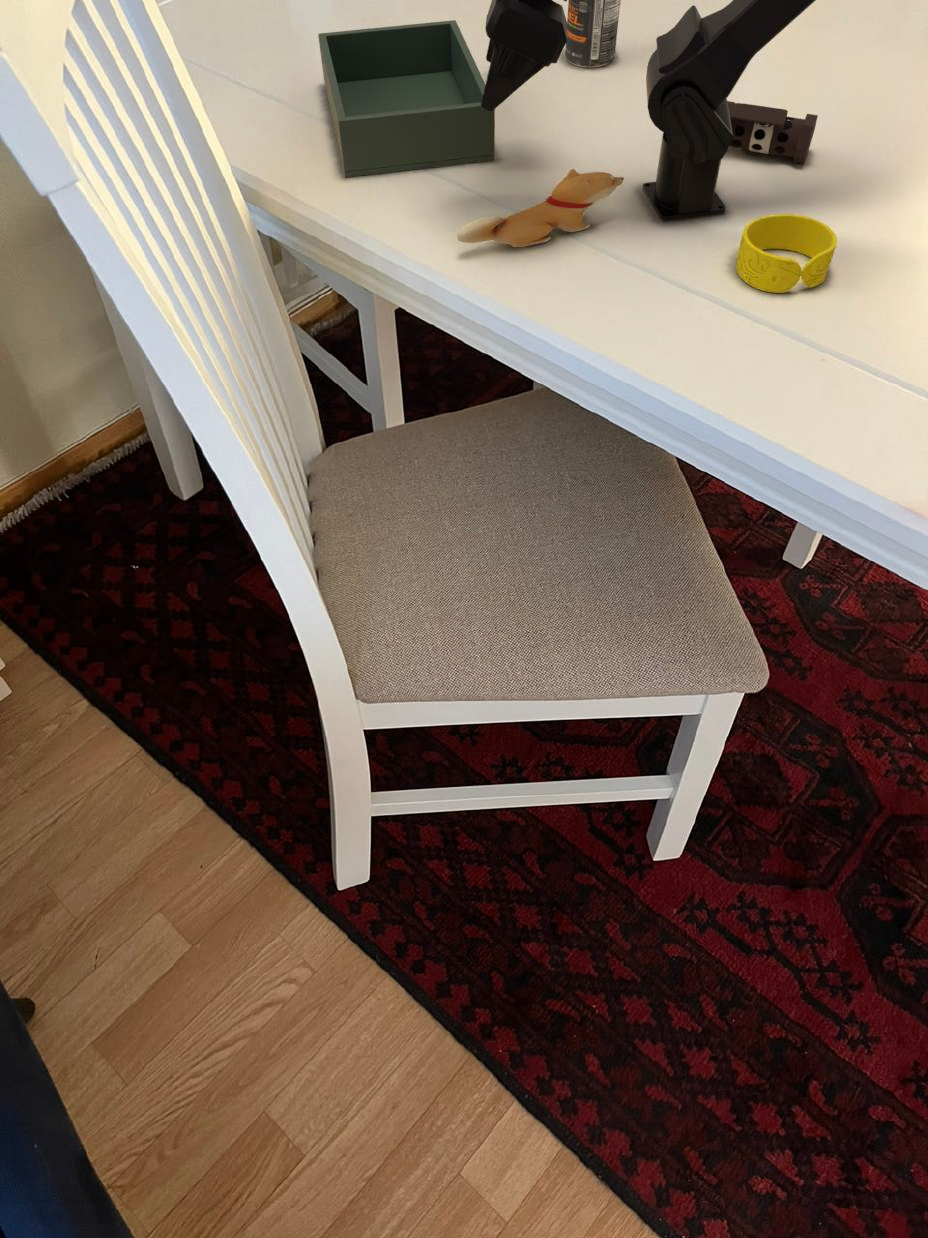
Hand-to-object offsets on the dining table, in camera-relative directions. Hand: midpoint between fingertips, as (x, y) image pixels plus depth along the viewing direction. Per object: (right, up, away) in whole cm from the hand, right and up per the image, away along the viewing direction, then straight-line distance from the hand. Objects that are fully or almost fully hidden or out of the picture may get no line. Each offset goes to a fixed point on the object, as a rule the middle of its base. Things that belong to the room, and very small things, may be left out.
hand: (488, 84), depth 84 cm
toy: (+5, -12, +4) cm, 14 cm away
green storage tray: (-9, +6, +18) cm, 21 cm away
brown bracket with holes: (+33, 0, +12) cm, 36 cm away
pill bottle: (+13, +19, +27) cm, 36 cm away
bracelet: (+25, -18, 0) cm, 31 cm away
